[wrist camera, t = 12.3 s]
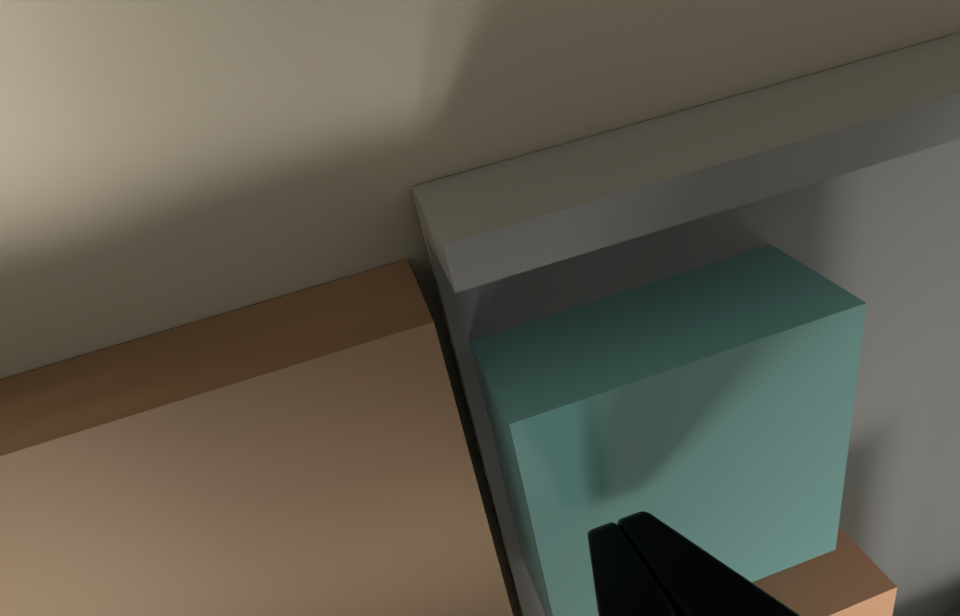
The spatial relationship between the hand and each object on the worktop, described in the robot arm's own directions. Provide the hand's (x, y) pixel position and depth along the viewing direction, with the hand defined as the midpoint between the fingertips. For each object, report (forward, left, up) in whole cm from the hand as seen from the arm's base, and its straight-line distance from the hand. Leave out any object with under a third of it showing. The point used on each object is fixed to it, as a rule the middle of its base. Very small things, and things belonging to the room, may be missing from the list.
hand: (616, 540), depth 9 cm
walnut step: (-4, +6, -3) cm, 7 cm away
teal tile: (-1, -1, -3) cm, 3 cm away
